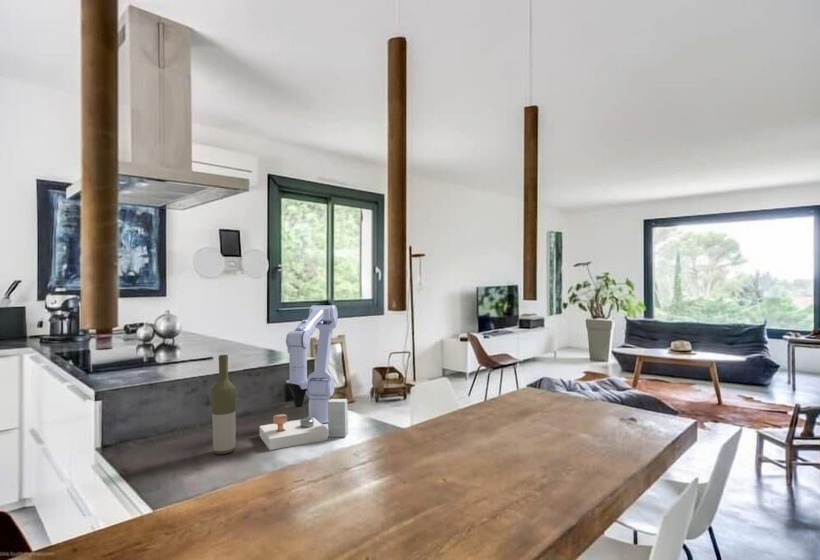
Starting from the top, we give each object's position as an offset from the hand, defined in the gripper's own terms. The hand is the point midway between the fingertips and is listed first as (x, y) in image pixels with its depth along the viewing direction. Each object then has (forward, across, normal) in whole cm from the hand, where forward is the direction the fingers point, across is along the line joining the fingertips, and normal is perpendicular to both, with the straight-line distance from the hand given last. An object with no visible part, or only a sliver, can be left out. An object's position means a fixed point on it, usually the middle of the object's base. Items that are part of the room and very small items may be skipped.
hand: (298, 406), depth 156 cm
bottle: (+11, +1, -24) cm, 26 cm away
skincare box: (+11, +4, +12) cm, 17 cm away
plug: (+10, 0, +3) cm, 11 cm away
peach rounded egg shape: (+7, 0, -6) cm, 10 cm away
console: (+10, -1, -2) cm, 11 cm away
